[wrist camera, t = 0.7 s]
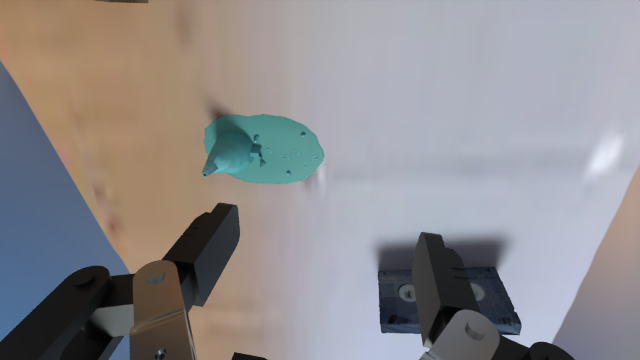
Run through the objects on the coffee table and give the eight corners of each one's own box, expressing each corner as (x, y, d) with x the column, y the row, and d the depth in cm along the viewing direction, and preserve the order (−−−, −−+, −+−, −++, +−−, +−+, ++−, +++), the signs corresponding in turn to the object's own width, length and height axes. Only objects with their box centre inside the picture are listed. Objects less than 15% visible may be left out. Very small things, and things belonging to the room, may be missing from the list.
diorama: (332, 191, 45) (324, 227, 37) (206, 180, 47) (175, 212, 40) (335, 112, 39) (327, 136, 31) (190, 104, 41) (151, 125, 34)
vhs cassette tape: (378, 280, 52) (380, 334, 44) (377, 268, 51) (379, 321, 42) (493, 279, 48) (520, 337, 40) (495, 266, 47) (523, 323, 39)
